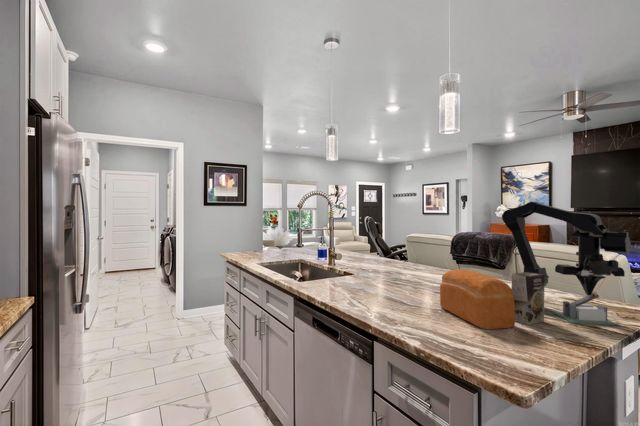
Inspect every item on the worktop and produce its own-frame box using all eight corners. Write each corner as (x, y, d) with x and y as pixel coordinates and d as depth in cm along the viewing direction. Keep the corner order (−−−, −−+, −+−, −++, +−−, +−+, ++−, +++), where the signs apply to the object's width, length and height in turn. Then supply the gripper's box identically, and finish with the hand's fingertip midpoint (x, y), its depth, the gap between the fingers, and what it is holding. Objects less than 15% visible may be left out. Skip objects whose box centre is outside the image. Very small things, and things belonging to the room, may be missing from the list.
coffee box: (529, 325, 107) (529, 276, 107) (510, 319, 113) (510, 273, 113) (545, 321, 111) (545, 274, 111) (526, 316, 117) (526, 271, 117)
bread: (468, 305, 131) (468, 265, 131) (519, 328, 105) (519, 279, 105) (436, 307, 128) (436, 266, 128) (481, 331, 103) (481, 280, 102)
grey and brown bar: (570, 309, 113) (568, 305, 113) (566, 307, 115) (564, 303, 116) (599, 297, 112) (596, 292, 112) (594, 295, 114) (592, 290, 114)
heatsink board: (571, 323, 110) (572, 307, 110) (555, 313, 120) (555, 299, 119) (615, 325, 108) (615, 308, 108) (594, 315, 118) (594, 300, 118)
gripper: (573, 252, 107) (573, 300, 107) (638, 253, 104) (637, 302, 104) (554, 248, 118) (554, 291, 118) (612, 249, 115) (612, 293, 115)
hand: (588, 295), depth 113 cm, fingers closed
